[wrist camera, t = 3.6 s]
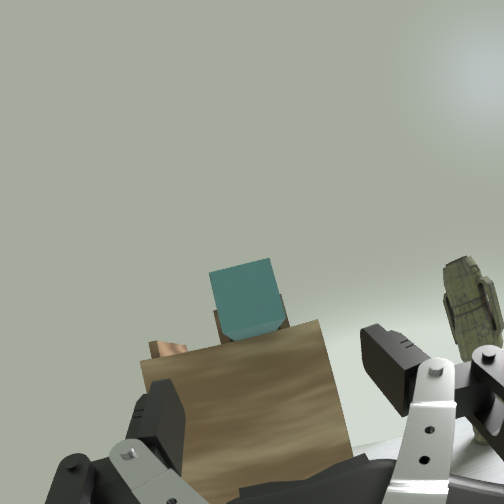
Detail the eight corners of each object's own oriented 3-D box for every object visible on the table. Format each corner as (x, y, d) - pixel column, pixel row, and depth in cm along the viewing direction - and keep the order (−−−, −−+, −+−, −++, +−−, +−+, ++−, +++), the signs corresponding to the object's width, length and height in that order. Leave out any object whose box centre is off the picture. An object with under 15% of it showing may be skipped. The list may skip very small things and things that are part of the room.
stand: (239, 561, 27) (168, 336, 38) (351, 535, 28) (293, 306, 39) (233, 611, 16) (133, 328, 27) (377, 579, 17) (308, 286, 28)
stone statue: (511, 443, 31) (470, 250, 42) (460, 445, 41) (421, 275, 52) (527, 418, 35) (489, 245, 45) (481, 424, 45) (444, 268, 56)
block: (242, 345, 40) (236, 319, 41) (269, 338, 40) (262, 312, 41) (222, 333, 17) (208, 272, 18) (286, 317, 17) (269, 257, 18)
